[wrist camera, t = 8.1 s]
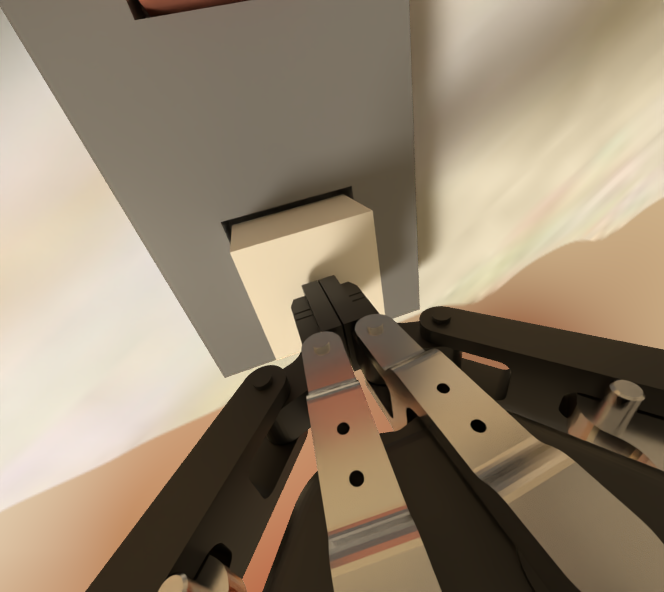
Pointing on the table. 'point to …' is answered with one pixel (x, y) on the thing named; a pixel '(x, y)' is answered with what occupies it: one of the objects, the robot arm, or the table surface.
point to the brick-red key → (180, 5)
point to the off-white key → (304, 260)
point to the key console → (237, 132)
